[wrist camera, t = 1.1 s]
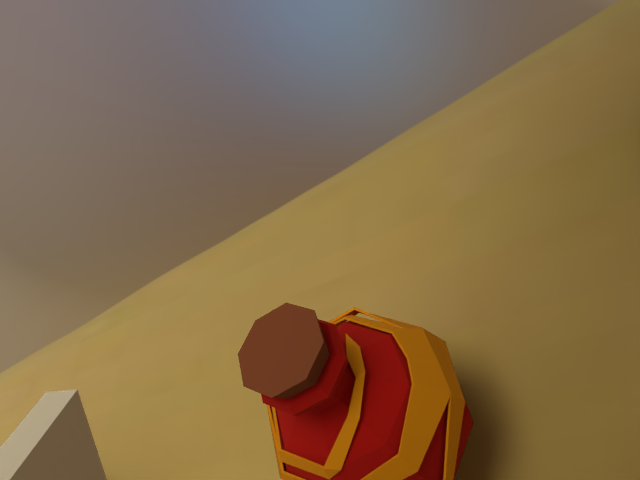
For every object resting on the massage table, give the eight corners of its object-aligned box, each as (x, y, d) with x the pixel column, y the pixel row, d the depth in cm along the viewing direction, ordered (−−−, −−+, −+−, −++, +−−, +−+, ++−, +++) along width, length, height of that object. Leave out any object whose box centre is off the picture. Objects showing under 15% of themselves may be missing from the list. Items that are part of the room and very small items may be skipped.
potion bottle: (516, 553, 29) (392, 477, 19) (332, 546, 34) (153, 482, 24) (502, 355, 35) (401, 213, 25) (346, 373, 40) (207, 259, 30)
